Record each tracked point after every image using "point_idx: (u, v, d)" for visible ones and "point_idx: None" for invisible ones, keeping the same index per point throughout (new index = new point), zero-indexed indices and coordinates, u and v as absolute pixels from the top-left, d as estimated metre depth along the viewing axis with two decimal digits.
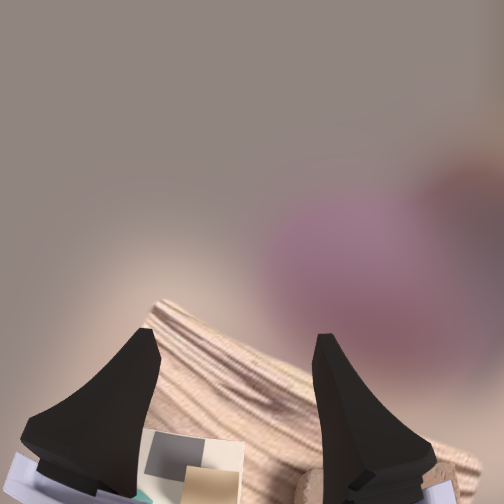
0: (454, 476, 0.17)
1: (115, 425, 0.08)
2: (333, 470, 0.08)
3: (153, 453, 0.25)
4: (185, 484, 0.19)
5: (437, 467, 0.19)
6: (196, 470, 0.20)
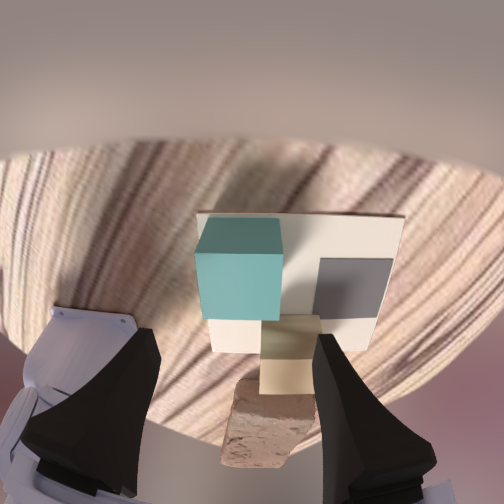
0: (266, 467, 0.33)
1: (115, 425, 0.08)
2: (333, 470, 0.08)
3: (356, 264, 0.21)
4: (298, 360, 0.19)
5: (280, 463, 0.32)
6: None
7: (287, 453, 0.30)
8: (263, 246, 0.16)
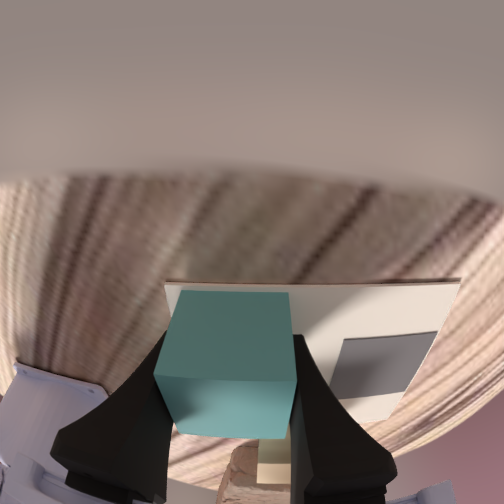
0: None
1: (149, 432, 0.08)
2: (296, 473, 0.08)
3: (390, 342, 0.14)
4: None
5: None
6: None
7: None
8: (264, 362, 0.09)
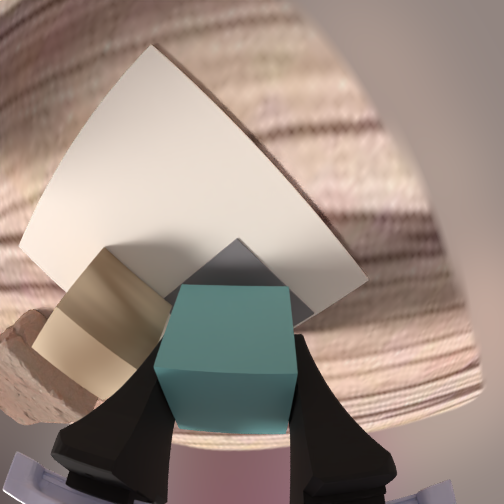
0: (7, 414, 0.19)
1: (150, 432, 0.08)
2: (295, 473, 0.08)
3: (271, 283, 0.14)
4: (106, 349, 0.10)
5: (23, 422, 0.19)
6: (129, 377, 0.11)
7: (36, 420, 0.19)
8: (264, 355, 0.09)
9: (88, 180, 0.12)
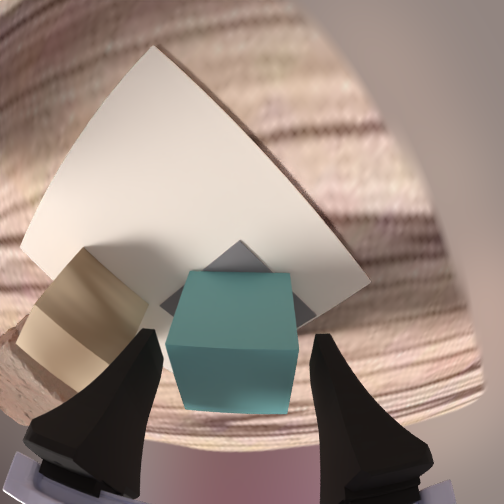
0: (7, 414, 0.19)
1: (118, 426, 0.08)
2: (330, 470, 0.08)
3: None
4: (81, 345, 0.10)
5: (23, 422, 0.19)
6: None
7: None
8: (268, 333, 0.10)
9: (90, 181, 0.11)
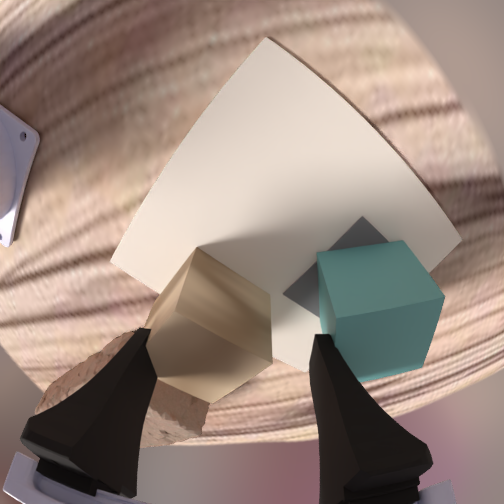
0: None
1: (115, 425, 0.08)
2: (329, 470, 0.08)
3: None
4: (231, 344, 0.11)
5: None
6: (252, 369, 0.12)
7: None
8: (416, 289, 0.10)
9: (206, 176, 0.12)
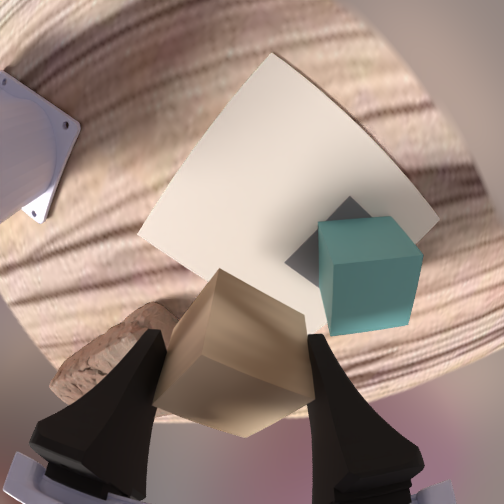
0: None
1: (125, 427, 0.08)
2: (321, 471, 0.08)
3: None
4: (269, 384, 0.09)
5: None
6: (291, 406, 0.10)
7: None
8: (399, 248, 0.13)
9: (223, 161, 0.15)
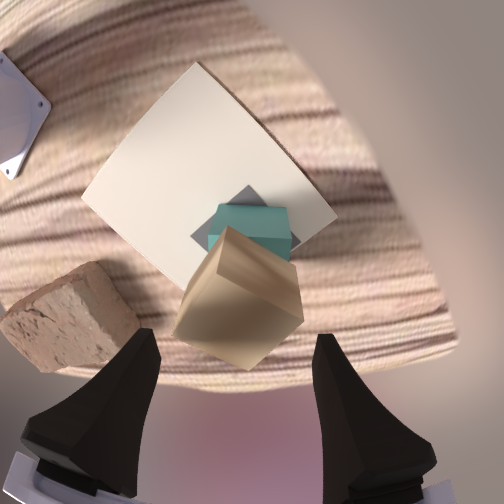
0: (31, 362, 0.26)
1: (115, 425, 0.08)
2: (333, 470, 0.08)
3: None
4: (266, 303, 0.13)
5: (47, 369, 0.26)
6: (286, 329, 0.13)
7: (65, 365, 0.25)
8: (273, 231, 0.17)
9: (148, 146, 0.18)
